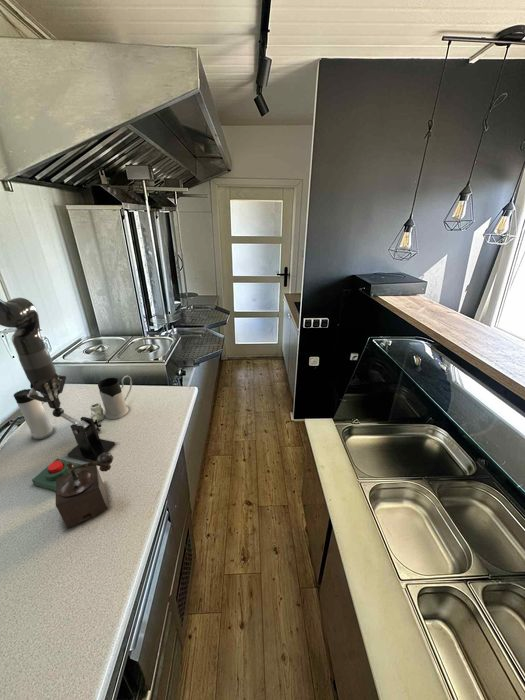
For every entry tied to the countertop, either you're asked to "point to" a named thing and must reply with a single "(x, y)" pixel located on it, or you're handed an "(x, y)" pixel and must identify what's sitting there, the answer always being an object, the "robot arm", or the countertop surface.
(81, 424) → the lever
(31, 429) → the travel mug
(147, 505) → the countertop surface
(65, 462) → the button block
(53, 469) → the button
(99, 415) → the valve
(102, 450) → the bracket
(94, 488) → the brown coffee grinder
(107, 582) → the countertop surface
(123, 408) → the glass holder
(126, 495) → the countertop surface
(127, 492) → the countertop surface
